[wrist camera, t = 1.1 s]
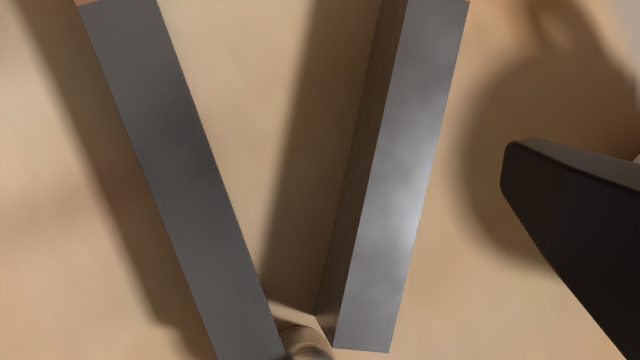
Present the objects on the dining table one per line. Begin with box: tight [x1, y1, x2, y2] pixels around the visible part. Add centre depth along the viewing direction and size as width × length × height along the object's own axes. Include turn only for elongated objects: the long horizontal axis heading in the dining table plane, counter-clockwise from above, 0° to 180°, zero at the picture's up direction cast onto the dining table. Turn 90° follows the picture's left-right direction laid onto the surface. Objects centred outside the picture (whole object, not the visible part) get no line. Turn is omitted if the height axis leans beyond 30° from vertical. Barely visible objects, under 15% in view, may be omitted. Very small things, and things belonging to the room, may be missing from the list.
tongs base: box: [276, 0, 470, 360], centre depth 21 cm, size 23×5×4 cm, turn 168°
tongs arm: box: [74, 0, 286, 360], centre depth 19 cm, size 17×2×3 cm, turn 18°
